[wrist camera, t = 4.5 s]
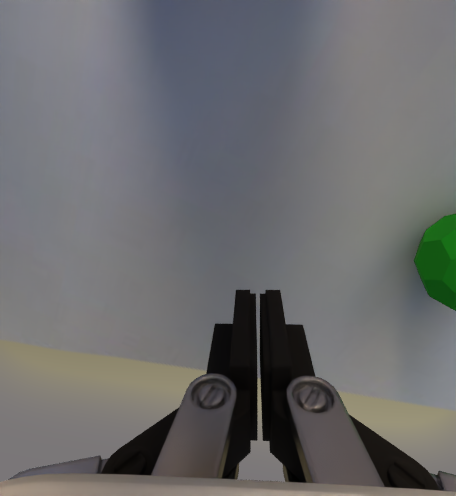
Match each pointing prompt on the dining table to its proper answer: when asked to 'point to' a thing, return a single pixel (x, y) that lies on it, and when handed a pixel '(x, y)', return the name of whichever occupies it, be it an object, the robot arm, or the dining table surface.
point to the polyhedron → (439, 261)
